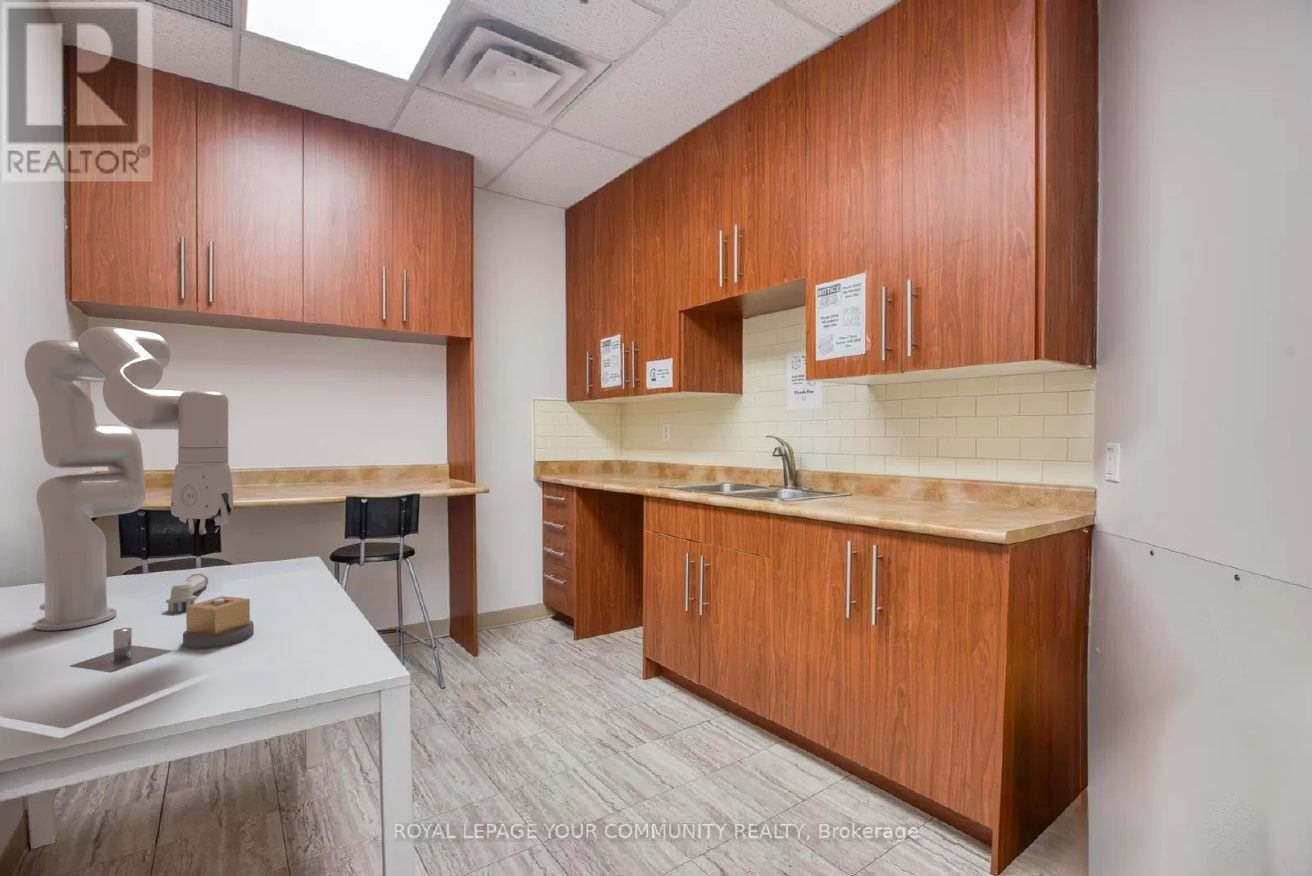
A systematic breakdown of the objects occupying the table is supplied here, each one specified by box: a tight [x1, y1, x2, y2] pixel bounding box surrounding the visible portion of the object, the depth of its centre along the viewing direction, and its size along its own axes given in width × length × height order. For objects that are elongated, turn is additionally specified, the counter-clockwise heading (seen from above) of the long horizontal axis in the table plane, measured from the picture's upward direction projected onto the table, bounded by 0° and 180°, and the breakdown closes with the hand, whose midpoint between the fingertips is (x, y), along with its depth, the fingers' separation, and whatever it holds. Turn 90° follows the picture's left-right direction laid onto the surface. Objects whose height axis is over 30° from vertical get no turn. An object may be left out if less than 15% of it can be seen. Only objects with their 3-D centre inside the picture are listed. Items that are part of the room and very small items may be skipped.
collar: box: [185, 595, 251, 636], centre depth 115 cm, size 7×7×5 cm
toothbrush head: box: [165, 573, 209, 613], centre depth 145 cm, size 5×7×25 cm
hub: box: [182, 599, 255, 650], centre depth 115 cm, size 11×11×8 cm
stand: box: [69, 627, 174, 673], centre depth 105 cm, size 10×10×6 cm
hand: (203, 553), depth 112 cm, fingers closed
